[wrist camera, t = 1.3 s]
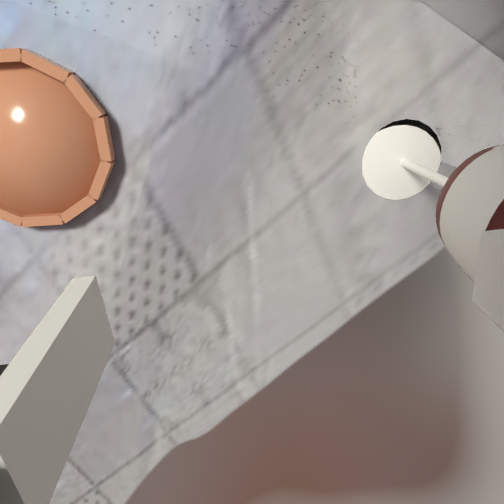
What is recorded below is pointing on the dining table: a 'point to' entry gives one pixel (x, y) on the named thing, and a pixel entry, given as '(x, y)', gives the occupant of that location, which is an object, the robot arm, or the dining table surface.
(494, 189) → the wineglass
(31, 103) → the terracotta saucer
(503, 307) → the robot arm
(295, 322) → the dining table surface
